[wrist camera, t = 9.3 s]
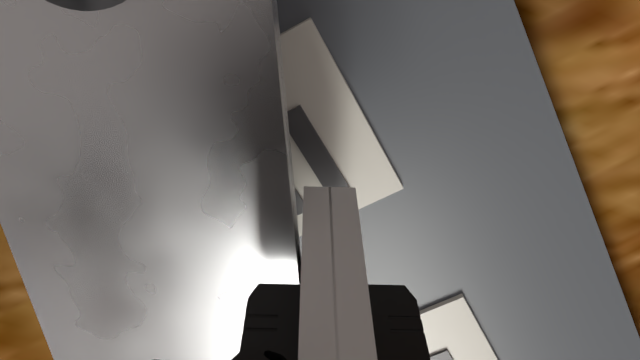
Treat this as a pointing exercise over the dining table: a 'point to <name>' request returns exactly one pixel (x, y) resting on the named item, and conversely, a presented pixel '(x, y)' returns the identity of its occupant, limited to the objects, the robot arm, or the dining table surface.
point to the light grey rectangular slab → (145, 171)
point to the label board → (453, 174)
